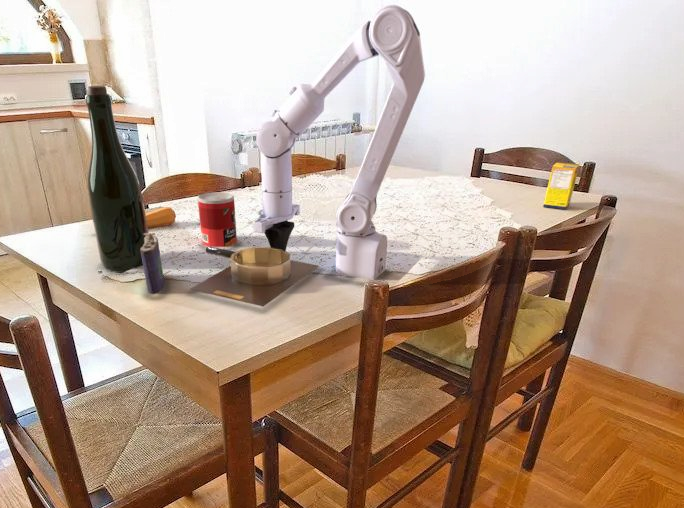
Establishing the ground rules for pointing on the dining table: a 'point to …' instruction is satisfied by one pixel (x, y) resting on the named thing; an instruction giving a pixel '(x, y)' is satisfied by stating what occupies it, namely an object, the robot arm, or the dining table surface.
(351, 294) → the dining table surface
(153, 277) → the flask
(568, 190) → the supplement box
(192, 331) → the dining table surface
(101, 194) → the green wine bottle
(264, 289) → the board
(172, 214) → the carrot
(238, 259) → the pan
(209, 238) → the canned food
